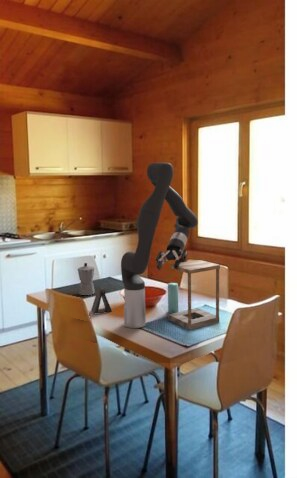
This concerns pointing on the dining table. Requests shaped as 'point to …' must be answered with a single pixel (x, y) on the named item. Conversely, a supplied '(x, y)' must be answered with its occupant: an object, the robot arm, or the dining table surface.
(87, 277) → the coffeepot
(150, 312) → the dining table surface
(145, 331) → the dining table surface
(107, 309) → the phone stand
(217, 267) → the tan frame
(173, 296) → the peg
